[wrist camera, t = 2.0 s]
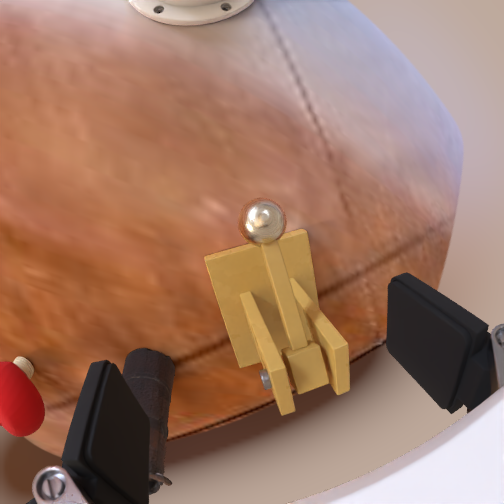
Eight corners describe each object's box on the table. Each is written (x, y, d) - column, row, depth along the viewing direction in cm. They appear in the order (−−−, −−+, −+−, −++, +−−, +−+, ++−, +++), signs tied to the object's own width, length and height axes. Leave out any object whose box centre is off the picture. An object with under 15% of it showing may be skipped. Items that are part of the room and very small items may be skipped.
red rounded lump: (59, 350, 26) (28, 416, 16) (63, 394, 27) (41, 457, 18) (-8, 325, 23) (-50, 377, 14) (0, 370, 25) (-31, 424, 15)
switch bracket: (204, 256, 26) (216, 330, 15) (302, 228, 27) (375, 278, 16) (238, 361, 30) (264, 451, 19) (319, 334, 31) (373, 410, 20)
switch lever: (231, 211, 21) (232, 199, 18) (274, 200, 22) (282, 186, 19) (283, 384, 20) (292, 400, 17) (324, 370, 21) (339, 382, 18)
